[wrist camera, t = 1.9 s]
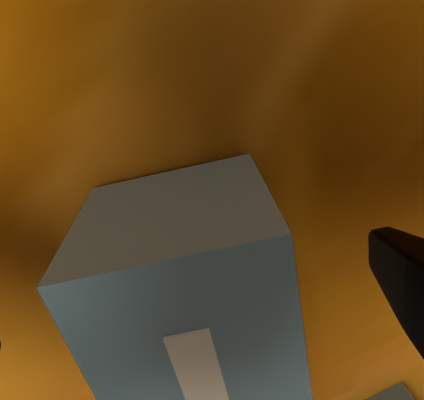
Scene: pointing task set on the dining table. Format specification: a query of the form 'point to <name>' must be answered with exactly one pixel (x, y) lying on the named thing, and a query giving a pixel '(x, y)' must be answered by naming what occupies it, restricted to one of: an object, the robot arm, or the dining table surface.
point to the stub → (182, 289)
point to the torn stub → (394, 393)
